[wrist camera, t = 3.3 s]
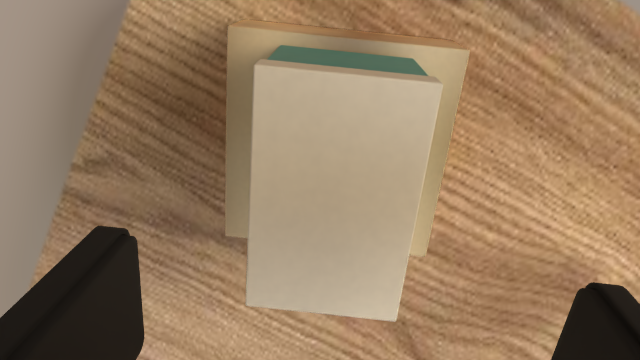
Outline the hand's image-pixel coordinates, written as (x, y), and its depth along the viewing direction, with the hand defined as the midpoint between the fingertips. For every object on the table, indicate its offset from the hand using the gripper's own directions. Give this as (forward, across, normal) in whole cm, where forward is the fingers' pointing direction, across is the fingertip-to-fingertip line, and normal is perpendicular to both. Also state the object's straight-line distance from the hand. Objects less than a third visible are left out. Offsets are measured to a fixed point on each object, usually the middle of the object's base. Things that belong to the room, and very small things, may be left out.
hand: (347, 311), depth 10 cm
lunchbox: (+10, +1, 0) cm, 10 cm away
